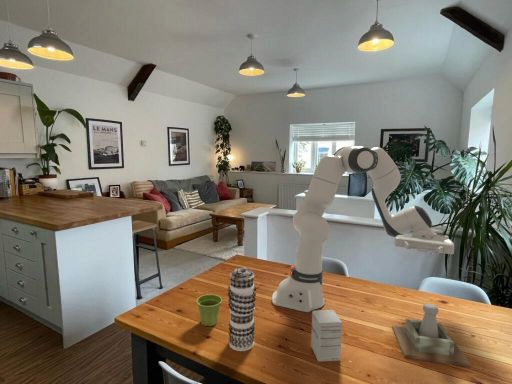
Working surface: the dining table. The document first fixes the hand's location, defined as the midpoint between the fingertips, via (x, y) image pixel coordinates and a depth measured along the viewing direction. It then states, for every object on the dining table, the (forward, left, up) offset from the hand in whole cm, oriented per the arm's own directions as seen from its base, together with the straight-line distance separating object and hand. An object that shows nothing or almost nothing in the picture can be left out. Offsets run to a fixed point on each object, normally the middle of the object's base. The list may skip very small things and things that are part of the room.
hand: (422, 249), depth 107 cm
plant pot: (-77, -20, -28) cm, 84 cm away
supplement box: (-35, -28, -28) cm, 53 cm away
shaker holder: (-2, -16, -28) cm, 32 cm away
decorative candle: (-62, -29, -28) cm, 74 cm away
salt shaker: (-2, -16, -27) cm, 32 cm away
